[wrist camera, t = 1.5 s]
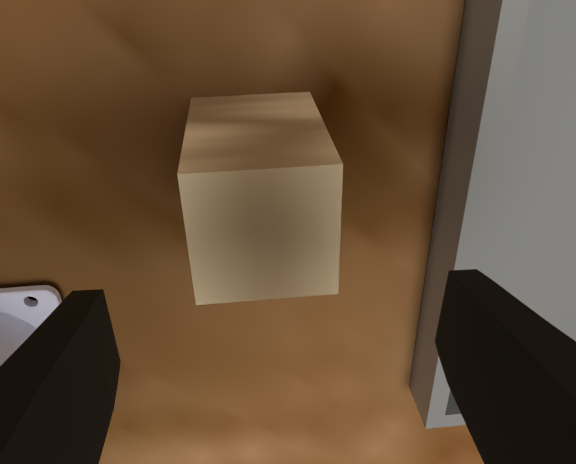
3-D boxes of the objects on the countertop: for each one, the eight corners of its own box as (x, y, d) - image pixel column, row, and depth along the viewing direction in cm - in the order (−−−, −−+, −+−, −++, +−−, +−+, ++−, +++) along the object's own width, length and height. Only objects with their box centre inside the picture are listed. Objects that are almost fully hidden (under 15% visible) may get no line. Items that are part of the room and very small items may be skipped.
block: (203, 202, 20) (195, 305, 15) (191, 97, 18) (177, 174, 13) (309, 195, 20) (338, 293, 15) (309, 91, 18) (343, 164, 13)
